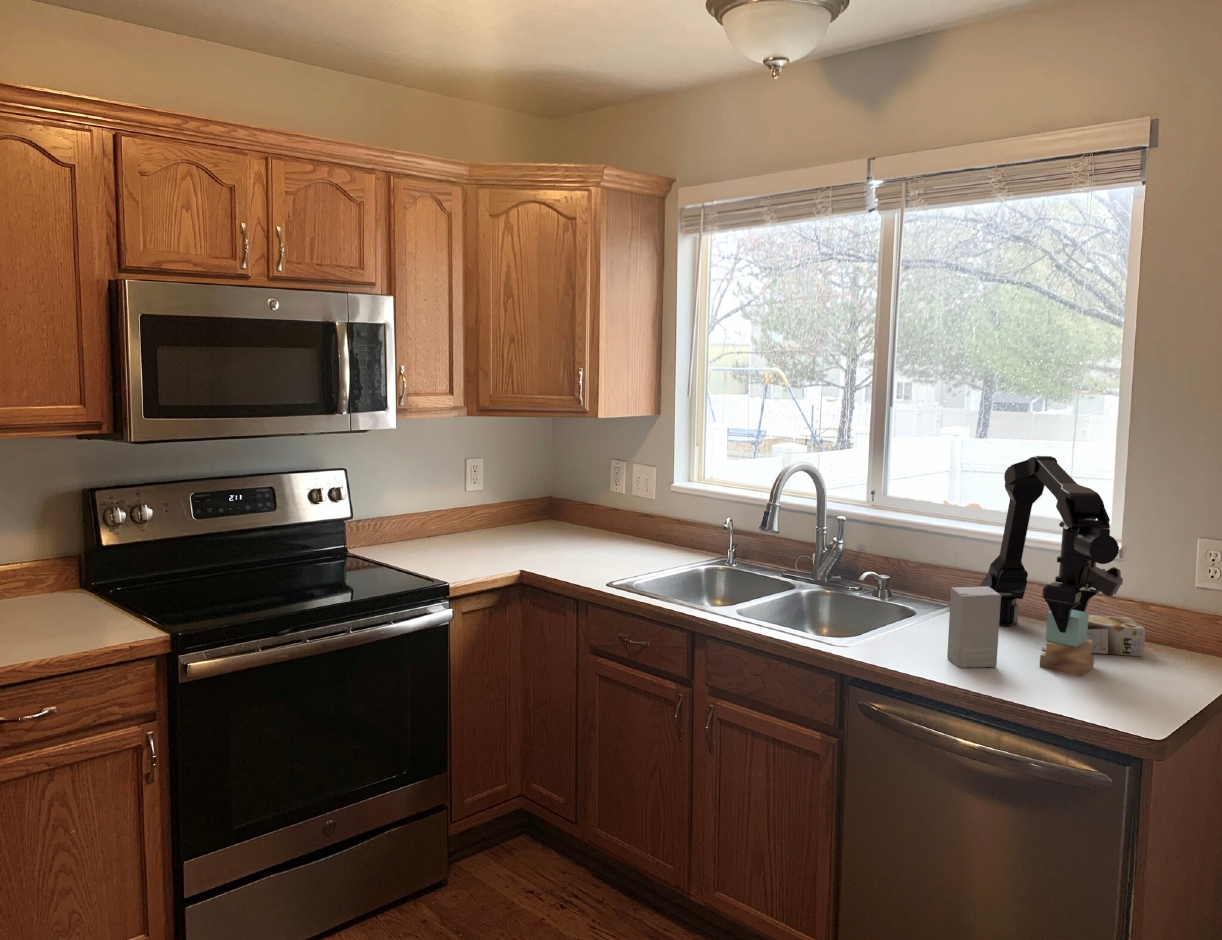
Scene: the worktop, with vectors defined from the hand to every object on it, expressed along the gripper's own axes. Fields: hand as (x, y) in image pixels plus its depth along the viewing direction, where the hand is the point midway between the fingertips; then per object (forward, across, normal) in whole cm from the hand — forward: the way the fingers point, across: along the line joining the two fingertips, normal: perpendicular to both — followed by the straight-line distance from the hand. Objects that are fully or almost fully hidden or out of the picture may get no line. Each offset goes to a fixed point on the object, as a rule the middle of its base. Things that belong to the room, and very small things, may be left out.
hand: (1070, 627), depth 192 cm
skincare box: (+9, -12, +15) cm, 21 cm away
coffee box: (+5, +24, -7) cm, 25 cm away
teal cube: (+3, 0, +1) cm, 3 cm away
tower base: (+9, 0, 0) cm, 9 cm away
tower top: (+6, 0, 0) cm, 6 cm away
